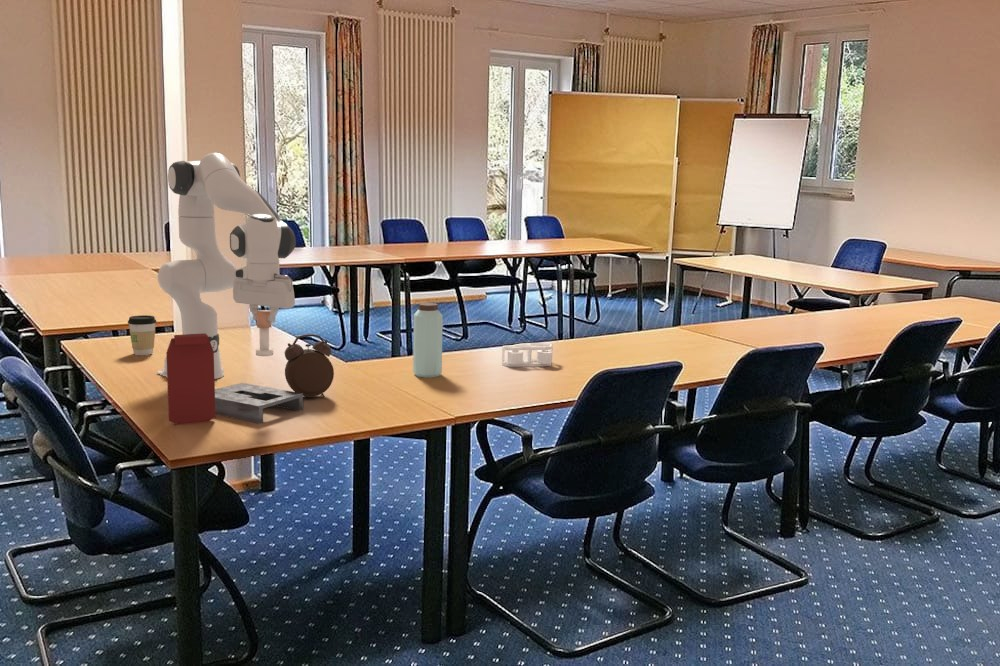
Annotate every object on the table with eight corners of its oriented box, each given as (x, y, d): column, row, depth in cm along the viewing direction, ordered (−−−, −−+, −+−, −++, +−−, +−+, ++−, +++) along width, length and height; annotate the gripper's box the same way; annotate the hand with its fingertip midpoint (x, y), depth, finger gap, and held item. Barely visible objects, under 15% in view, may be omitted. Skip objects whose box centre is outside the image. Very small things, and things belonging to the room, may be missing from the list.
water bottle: (439, 379, 316) (440, 306, 312) (410, 378, 317) (411, 305, 313) (443, 372, 326) (444, 302, 322) (415, 371, 327) (416, 301, 322)
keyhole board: (259, 423, 256) (258, 406, 255) (196, 410, 268) (196, 394, 267) (302, 410, 272) (302, 393, 271) (242, 398, 283) (241, 382, 282)
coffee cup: (136, 354, 343) (134, 314, 340) (162, 355, 343) (160, 315, 340) (124, 360, 333) (122, 318, 331) (151, 360, 333) (149, 319, 330)
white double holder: (504, 368, 336) (505, 349, 335) (498, 362, 347) (499, 343, 346) (557, 367, 341) (558, 348, 339) (550, 361, 351) (551, 342, 350)
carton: (171, 429, 248) (168, 338, 244) (168, 424, 253) (165, 334, 248) (217, 425, 254) (215, 335, 249) (214, 420, 258) (212, 332, 254)
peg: (264, 352, 267) (263, 309, 265) (276, 354, 265) (276, 311, 263) (252, 354, 263) (251, 311, 261) (265, 356, 261) (264, 313, 258)
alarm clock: (329, 393, 292) (328, 331, 289) (335, 399, 286) (334, 335, 282) (282, 397, 286) (281, 333, 283) (287, 402, 280) (286, 337, 276)
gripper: (299, 274, 258) (300, 323, 260) (244, 269, 267) (245, 316, 270) (284, 276, 252) (284, 326, 255) (228, 270, 262) (229, 319, 264)
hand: (264, 321), depth 262 cm, fingers closed on peg, 4 cm apart
